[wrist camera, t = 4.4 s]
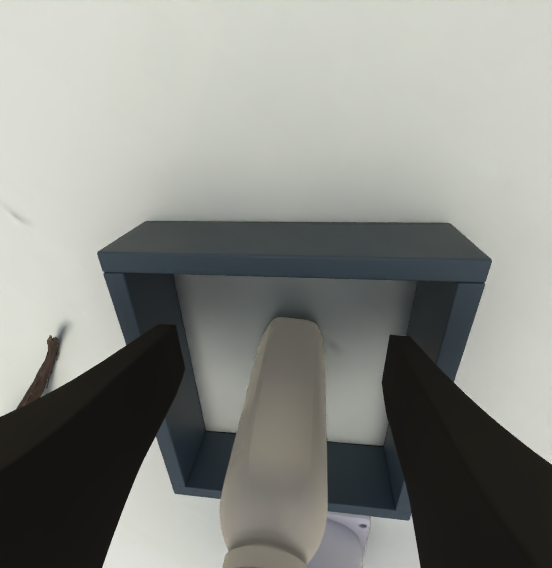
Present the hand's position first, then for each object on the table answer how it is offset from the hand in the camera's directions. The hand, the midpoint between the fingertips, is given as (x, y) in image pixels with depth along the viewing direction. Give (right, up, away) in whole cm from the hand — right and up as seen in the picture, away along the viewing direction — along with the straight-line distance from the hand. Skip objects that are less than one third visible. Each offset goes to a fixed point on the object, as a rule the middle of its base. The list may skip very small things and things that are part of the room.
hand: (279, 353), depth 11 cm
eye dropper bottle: (+1, -1, +6) cm, 6 cm away
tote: (+1, -1, +6) cm, 6 cm away
